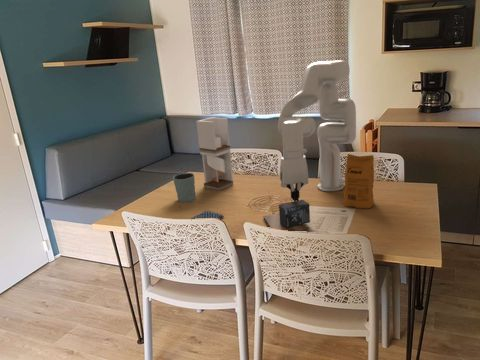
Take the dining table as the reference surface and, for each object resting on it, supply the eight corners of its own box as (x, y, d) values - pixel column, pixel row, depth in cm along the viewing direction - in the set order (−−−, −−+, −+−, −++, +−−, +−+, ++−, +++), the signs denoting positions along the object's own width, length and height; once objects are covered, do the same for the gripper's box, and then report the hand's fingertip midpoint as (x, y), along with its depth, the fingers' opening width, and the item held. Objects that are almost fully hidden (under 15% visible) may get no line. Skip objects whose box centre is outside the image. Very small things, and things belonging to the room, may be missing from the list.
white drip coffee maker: (204, 186, 212) (196, 121, 202) (218, 181, 220) (211, 117, 209) (219, 190, 205) (212, 122, 194) (233, 184, 213) (227, 118, 202)
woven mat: (208, 227, 163) (208, 223, 163) (190, 222, 170) (189, 218, 169) (225, 218, 171) (225, 214, 170) (207, 213, 178) (207, 209, 177)
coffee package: (347, 198, 179) (347, 150, 173) (376, 202, 173) (377, 152, 166) (340, 206, 171) (340, 156, 165) (370, 210, 165) (371, 158, 158)
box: (310, 222, 155) (286, 228, 152) (303, 217, 160) (279, 223, 157) (309, 203, 153) (284, 209, 149) (302, 199, 158) (278, 204, 155)
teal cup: (201, 198, 196) (198, 174, 193) (185, 204, 190) (181, 180, 186) (187, 194, 203) (184, 171, 200) (171, 200, 196) (168, 177, 193)
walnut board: (292, 214, 167) (292, 211, 167) (308, 232, 151) (307, 228, 150) (263, 219, 165) (263, 216, 165) (275, 237, 149) (275, 233, 148)
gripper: (308, 149, 155) (310, 194, 160) (271, 154, 152) (274, 199, 158) (316, 153, 148) (317, 200, 153) (276, 158, 145) (279, 206, 151)
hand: (295, 199), depth 156 cm, fingers closed
